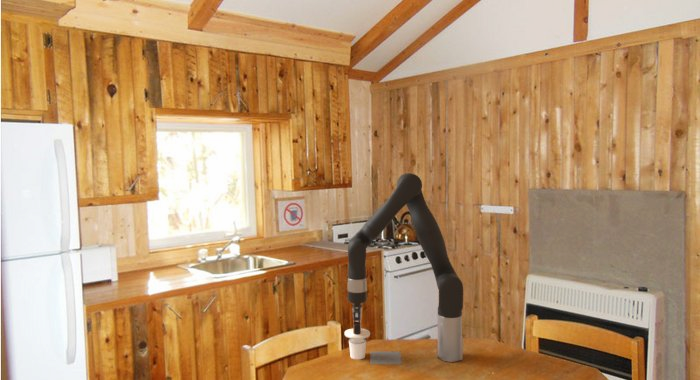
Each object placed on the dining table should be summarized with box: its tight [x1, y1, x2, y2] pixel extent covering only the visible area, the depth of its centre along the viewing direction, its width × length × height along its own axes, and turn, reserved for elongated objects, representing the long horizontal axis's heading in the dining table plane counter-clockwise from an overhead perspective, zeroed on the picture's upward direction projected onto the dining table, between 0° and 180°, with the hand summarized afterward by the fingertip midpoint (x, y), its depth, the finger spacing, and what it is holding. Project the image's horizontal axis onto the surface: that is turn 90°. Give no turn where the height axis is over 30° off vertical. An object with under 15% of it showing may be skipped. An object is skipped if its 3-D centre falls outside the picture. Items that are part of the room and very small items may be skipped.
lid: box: [344, 319, 371, 339], centre depth 198 cm, size 10×10×5 cm
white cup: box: [348, 338, 367, 360], centre depth 198 cm, size 7×7×7 cm
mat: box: [369, 351, 403, 365], centre depth 197 cm, size 12×12×1 cm
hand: (357, 332), depth 198 cm, fingers closed on lid, 3 cm apart
